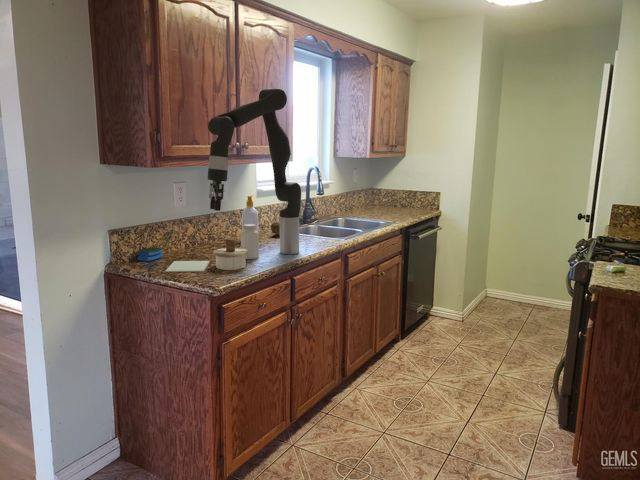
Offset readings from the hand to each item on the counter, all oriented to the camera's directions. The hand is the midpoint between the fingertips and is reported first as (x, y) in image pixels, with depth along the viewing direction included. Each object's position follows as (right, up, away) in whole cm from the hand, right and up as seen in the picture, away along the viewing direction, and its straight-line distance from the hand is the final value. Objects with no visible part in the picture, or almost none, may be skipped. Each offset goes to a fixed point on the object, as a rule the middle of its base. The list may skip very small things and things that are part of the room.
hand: (215, 209), depth 192 cm
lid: (+4, -18, +10) cm, 21 cm away
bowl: (+4, -23, +11) cm, 26 cm away
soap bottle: (+4, -12, +68) cm, 69 cm away
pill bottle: (+10, -20, +28) cm, 36 cm away
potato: (+18, -10, +83) cm, 85 cm away
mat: (-13, -23, +10) cm, 28 cm away
